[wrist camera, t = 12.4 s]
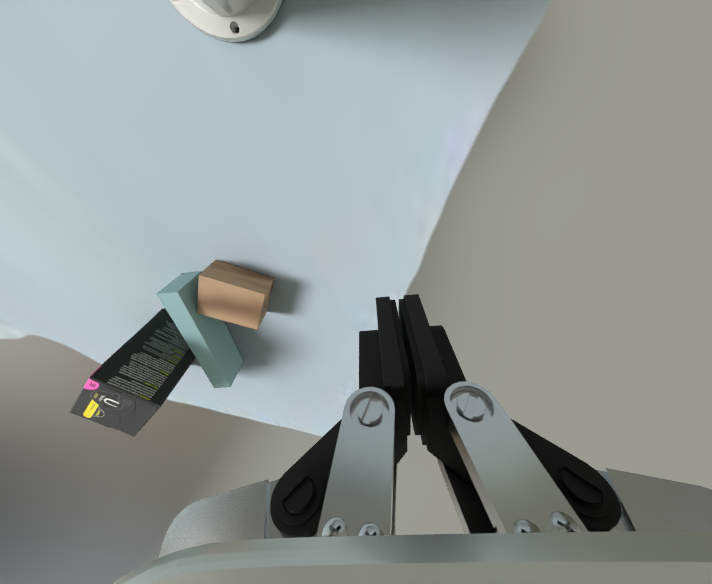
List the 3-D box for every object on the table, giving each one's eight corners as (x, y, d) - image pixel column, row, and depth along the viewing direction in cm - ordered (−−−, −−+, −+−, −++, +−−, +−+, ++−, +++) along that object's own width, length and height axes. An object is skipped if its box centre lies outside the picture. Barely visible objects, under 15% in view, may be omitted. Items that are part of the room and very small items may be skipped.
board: (182, 273, 40) (156, 293, 35) (200, 271, 40) (177, 292, 35) (228, 362, 51) (214, 387, 46) (243, 361, 51) (230, 386, 46)
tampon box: (162, 306, 44) (85, 376, 32) (213, 334, 47) (160, 407, 35) (140, 341, 48) (65, 414, 36) (188, 365, 52) (133, 439, 39)
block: (216, 259, 39) (198, 274, 35) (274, 277, 41) (264, 294, 37) (213, 295, 43) (196, 313, 39) (267, 310, 44) (257, 329, 40)
